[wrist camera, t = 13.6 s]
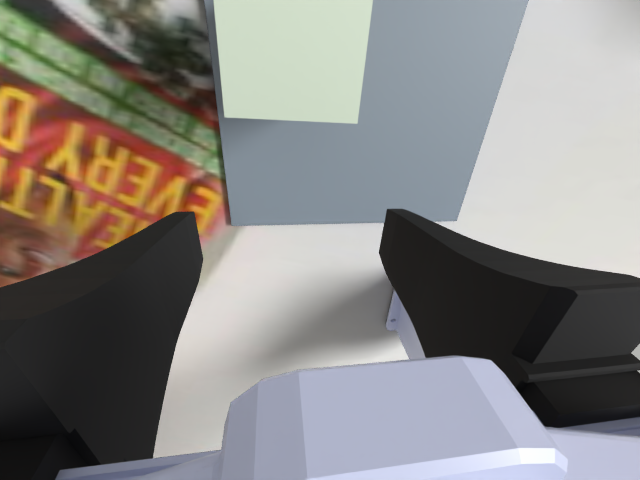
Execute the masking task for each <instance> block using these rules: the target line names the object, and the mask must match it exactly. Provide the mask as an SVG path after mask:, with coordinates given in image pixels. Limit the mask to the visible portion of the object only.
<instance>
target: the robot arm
mask: <svg viewBox="0 0 640 480" xmlns="http://www.w3.org/2000/svg"><path fill="white" fill-rule="evenodd" d="M379 254H380V257H381V260H382V264H383V266H384V269H385V272H386V274H387V276H388V278H389V280H390V282H391V284H392V286H393V288H394V292H393V296H392V300H391V305H390V309H389V313H388V317H387V322H386V328H387V330H389V331H393V330H396V331H397V333H398V335H399V338H400V340H401V342H402V344H403V346H404V349H405V351H406V353H407V355H408V357H409V359H410V360H400V361H389V362H378V363H367V364H357V365H346V366H335V367H324V368H313V369H302V370H296V371H292V372H288V373H284V374H280V375H276V376H272V377H269V378H265V379H262V380H261V381H259V382H258V383H257V384H255V385H254V386H253V387H251V388H250V389H248V390H247V391H246V392H244V393H243V394H242V395H240V396H239V397H238V398H236V399H235V400H233V401H232V402H231V404H230V407H229V411H228V414H227V418H226V422H225V426H224V434H223V441H222V449H221V450H216V451H208V452H200V453H192V454H184V455H176V456H168V457H160V458H153V453H154V447H155V441H156V435H157V430H158V425H159V420H160V415H161V410H162V404H163V399H164V395H165V390H166V386H167V381H168V377H169V372H170V368H171V364H172V359H173V355H174V351H175V347H176V343H177V340H178V337H179V334H180V331H181V328H182V325H183V323H184V320H185V317H186V315H187V312H188V309H189V307H190V304H191V301H192V299H193V296H194V293H195V290H196V288H197V285H198V282H199V278H200V273H201V268H202V263H203V255H202V250H201V245H200V240H199V235H198V229H197V224H196V219H195V214H194V212H175V213H172V214H170V215H168V216H166V217H164V218H162V219H161V220H159V221H157V222H155V223H154V224H152V225H150V226H148V227H147V228H145V229H143V230H141V231H140V232H138V233H136V234H134V235H132V236H130V237H128V238H127V239H125V240H123V241H121V242H119V243H117V244H115V245H113V246H111V247H109V248H107V249H105V250H103V251H101V252H99V253H96V254H94V255H92V256H90V257H87V258H85V259H82V260H80V261H78V262H75V263H73V264H70V265H68V266H65V267H62V268H59V269H56V270H53V271H50V272H48V273H45V274H42V275H39V276H36V277H33V278H30V279H27V280H24V281H21V282H17V283H14V284H11V285H7V286H4V287H1V288H0V480H640V373H639V372H638V371H637V370H640V360H638V359H637V358H636V357H635V356H634V355H633V354H631V352H632V351H633V350H634V349H635V348H636V347H637V345H638V344H639V343H640V278H637V277H634V276H631V275H626V274H619V273H612V272H605V271H598V270H591V269H584V268H578V267H573V266H568V265H562V264H557V263H552V262H548V261H543V260H539V259H535V258H531V257H527V256H523V255H519V254H516V253H512V252H508V251H505V250H502V249H499V248H496V247H493V246H490V245H487V244H484V243H481V242H478V241H476V240H473V239H471V238H468V237H466V236H463V235H461V234H459V233H456V232H454V231H452V230H449V229H447V228H445V227H443V226H441V225H439V224H437V223H434V222H432V221H430V220H428V219H426V218H424V217H422V216H420V215H418V214H415V213H413V212H411V211H408V210H405V209H387V211H386V217H385V222H384V228H383V233H382V239H381V244H380V249H379Z"/></svg>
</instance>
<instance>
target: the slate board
mask: <svg viewBox="0 0 640 480" xmlns="http://www.w3.org/2000/svg"><path fill="white" fill-rule="evenodd" d="M528 1H529V0H373V4H372V12H371V20H370V28H369V36H368V44H367V52H366V60H365V68H364V76H363V84H362V92H361V100H360V108H359V116H358V124H351V123H331V122H310V121H289V120H268V119H248V118H227V117H224V107H223V97H222V86H221V75H220V65H219V54H218V44H217V33H216V22H215V12H214V1H213V0H204V2H205V11H206V19H207V27H208V35H209V44H210V52H211V60H212V68H213V77H214V85H215V93H216V101H217V110H218V118H219V126H220V134H221V142H222V151H223V159H224V167H225V175H226V184H227V192H228V200H229V208H230V217H231V225H232V226H248V225H294V224H341V223H384V222H385V217H386V211H387V209H405V210H408V211H411V212H413V213H415V214H418V215H420V216H422V217H424V218H426V219H428V220H430V221H432V222H433V221H457V218H458V215H459V212H460V209H461V206H462V203H463V200H464V197H465V194H466V191H467V188H468V184H469V181H470V178H471V175H472V172H473V169H474V166H475V163H476V160H477V157H478V154H479V151H480V148H481V145H482V142H483V139H484V135H485V132H486V129H487V126H488V123H489V120H490V117H491V114H492V111H493V108H494V105H495V102H496V99H497V96H498V93H499V90H500V87H501V83H502V80H503V77H504V74H505V71H506V68H507V65H508V62H509V59H510V56H511V53H512V50H513V47H514V44H515V41H516V38H517V34H518V31H519V28H520V25H521V22H522V19H523V16H524V13H525V10H526V7H527V4H528Z"/></svg>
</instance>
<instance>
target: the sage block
mask: <svg viewBox="0 0 640 480" xmlns="http://www.w3.org/2000/svg"><path fill="white" fill-rule="evenodd" d="M213 1H214V12H215V22H216V33H217V44H218V54H219V65H220V75H221V86H222V97H223V107H224V117H227V118H248V119H268V120H289V121H310V122H331V123H351V124H358V116H359V108H360V100H361V92H362V84H363V76H364V68H365V60H366V52H367V44H368V36H369V28H370V20H371V12H372V4H373V0H213Z"/></svg>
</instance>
